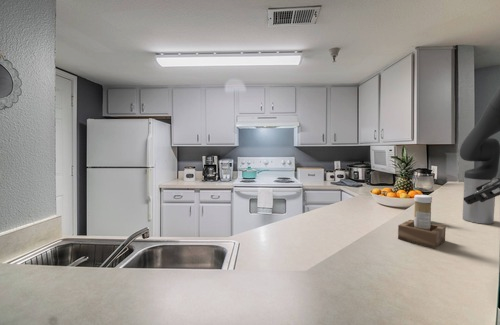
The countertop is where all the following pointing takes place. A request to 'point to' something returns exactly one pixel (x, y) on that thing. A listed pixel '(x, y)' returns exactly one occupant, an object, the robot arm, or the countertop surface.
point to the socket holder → (421, 234)
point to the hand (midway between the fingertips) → (472, 195)
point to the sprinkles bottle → (422, 212)
